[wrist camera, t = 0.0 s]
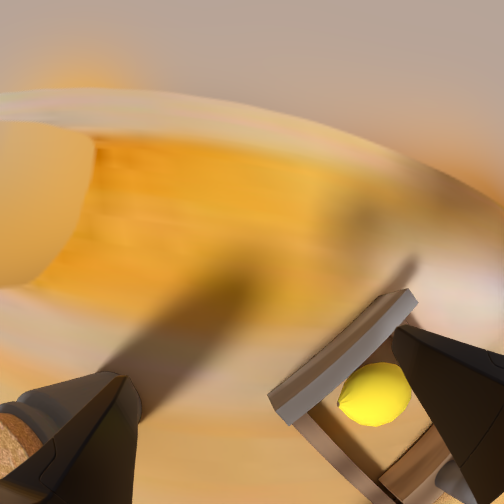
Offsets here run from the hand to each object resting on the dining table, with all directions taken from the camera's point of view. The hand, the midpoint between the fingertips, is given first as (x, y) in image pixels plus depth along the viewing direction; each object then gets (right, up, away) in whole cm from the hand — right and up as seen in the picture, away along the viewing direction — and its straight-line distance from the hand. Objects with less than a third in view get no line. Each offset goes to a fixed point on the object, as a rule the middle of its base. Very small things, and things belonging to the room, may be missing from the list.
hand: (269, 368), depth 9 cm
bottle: (-13, -10, +12) cm, 20 cm away
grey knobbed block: (+16, -17, +12) cm, 27 cm away
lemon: (+9, -8, +14) cm, 19 cm away
